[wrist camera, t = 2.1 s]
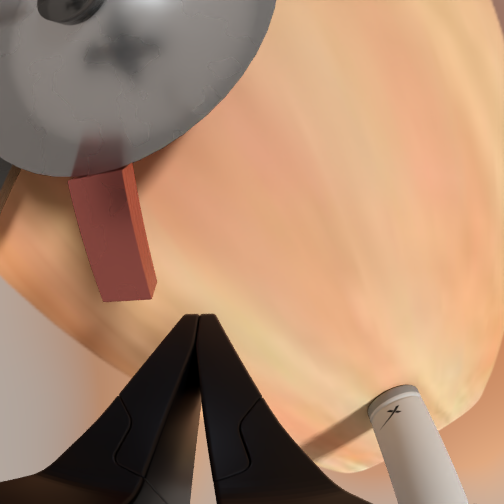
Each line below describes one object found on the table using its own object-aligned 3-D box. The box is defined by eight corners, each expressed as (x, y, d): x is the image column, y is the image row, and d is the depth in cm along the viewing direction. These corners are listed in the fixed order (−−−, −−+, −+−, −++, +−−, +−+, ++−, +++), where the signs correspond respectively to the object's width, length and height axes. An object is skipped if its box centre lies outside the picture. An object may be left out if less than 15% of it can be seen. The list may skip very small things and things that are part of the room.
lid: (-18, -46, 4) (-43, -54, 2) (260, -131, 5) (265, -157, 3) (22, 290, 14) (3, 316, 12) (286, 270, 15) (296, 301, 13)
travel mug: (371, 390, 28) (431, 562, 11) (424, 378, 29) (492, 528, 11) (358, 421, 31) (402, 569, 14) (406, 409, 32) (458, 543, 14)
